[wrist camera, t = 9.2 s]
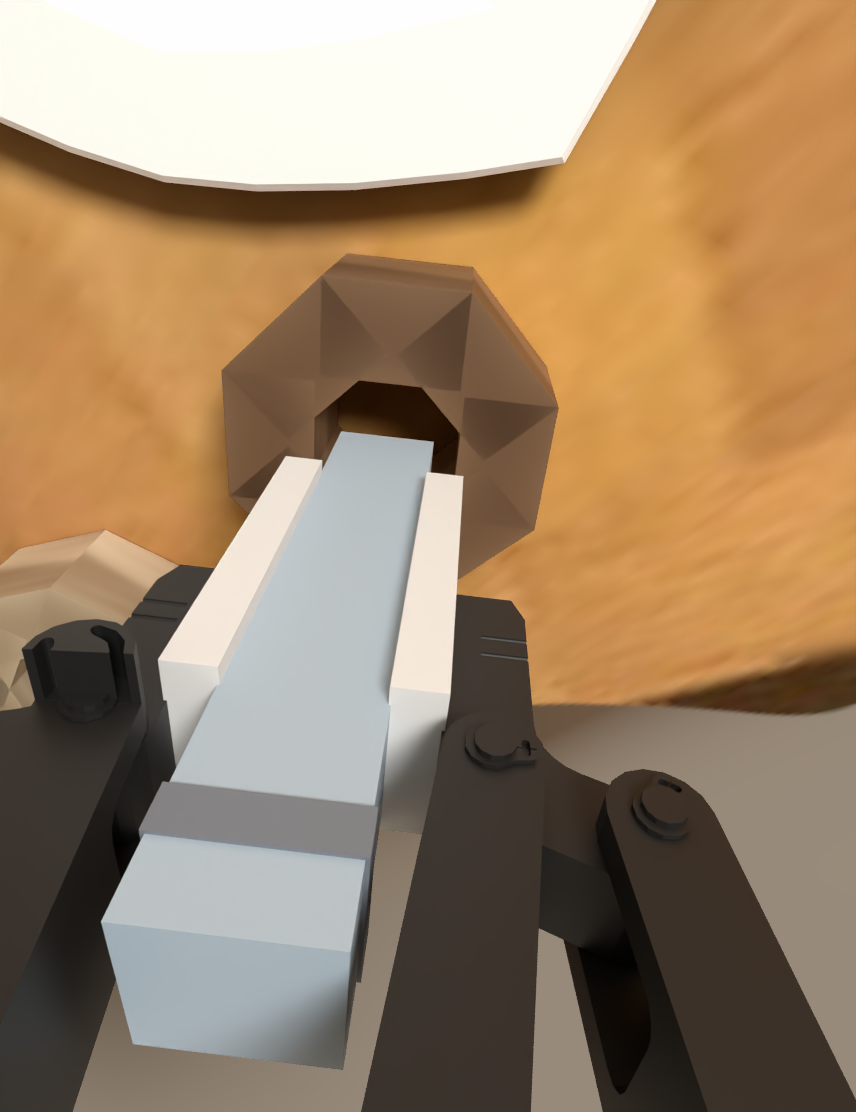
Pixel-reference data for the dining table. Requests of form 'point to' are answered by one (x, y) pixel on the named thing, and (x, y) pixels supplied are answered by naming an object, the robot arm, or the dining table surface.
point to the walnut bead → (404, 359)
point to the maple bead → (66, 595)
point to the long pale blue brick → (280, 792)
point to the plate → (312, 85)
